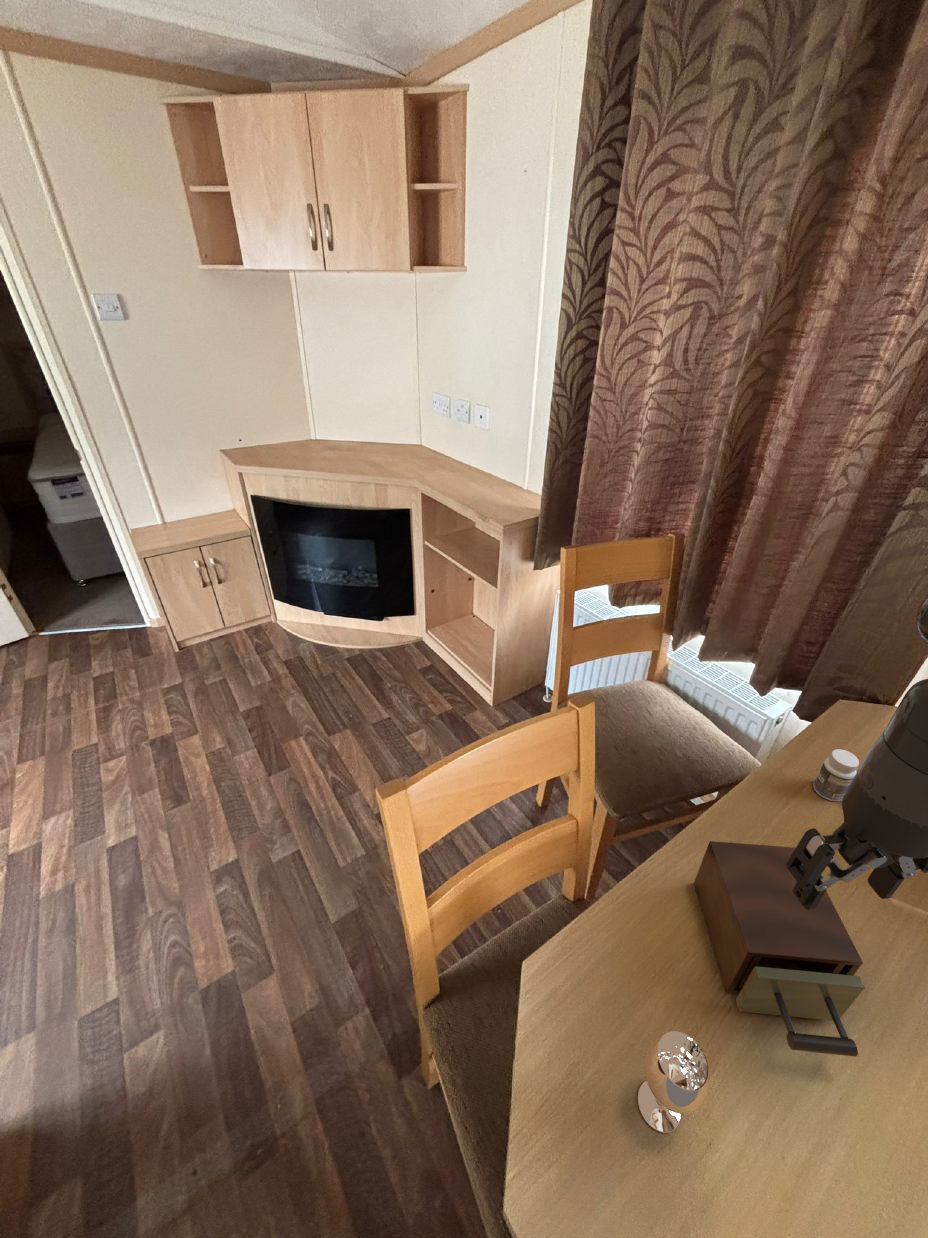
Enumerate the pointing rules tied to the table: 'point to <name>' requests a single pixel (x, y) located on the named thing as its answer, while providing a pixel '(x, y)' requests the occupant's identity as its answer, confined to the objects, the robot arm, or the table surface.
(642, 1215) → the table surface
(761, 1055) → the table surface
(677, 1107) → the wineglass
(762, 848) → the cabinet
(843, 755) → the pill bottle
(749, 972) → the drawer
